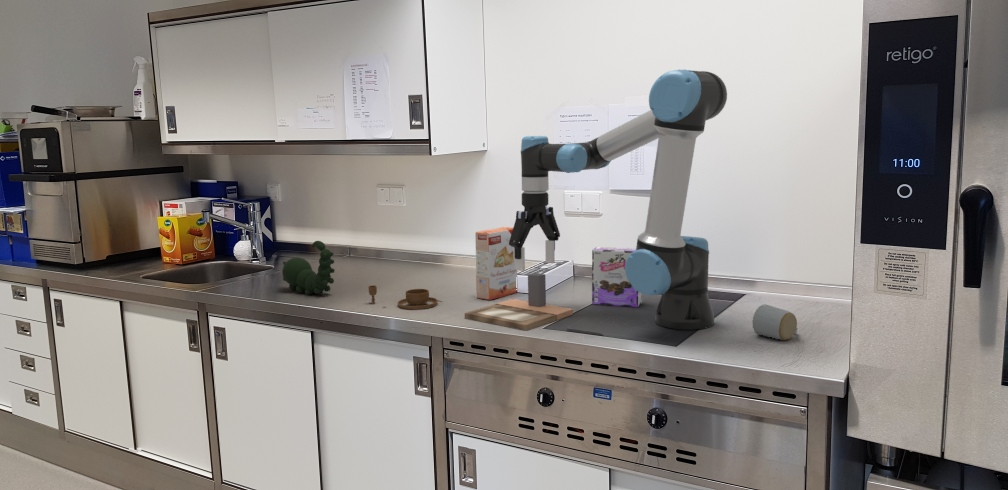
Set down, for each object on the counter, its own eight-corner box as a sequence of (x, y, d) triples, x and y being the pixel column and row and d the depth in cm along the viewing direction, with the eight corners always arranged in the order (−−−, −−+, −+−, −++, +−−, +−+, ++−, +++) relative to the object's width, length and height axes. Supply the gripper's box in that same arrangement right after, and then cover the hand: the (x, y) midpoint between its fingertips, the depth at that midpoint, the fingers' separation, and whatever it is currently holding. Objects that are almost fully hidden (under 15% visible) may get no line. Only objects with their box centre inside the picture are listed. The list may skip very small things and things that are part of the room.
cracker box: (490, 301, 231) (488, 232, 227) (475, 298, 234) (473, 231, 231) (519, 292, 241) (517, 227, 238) (504, 290, 245) (502, 226, 242)
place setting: (406, 316, 218) (405, 296, 217) (365, 305, 231) (364, 286, 230) (452, 304, 230) (451, 285, 229) (410, 295, 244) (409, 277, 243)
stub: (573, 314, 212) (572, 277, 210) (557, 319, 207) (556, 282, 205) (512, 303, 226) (512, 269, 225) (496, 308, 221) (495, 273, 219)
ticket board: (556, 320, 206) (556, 314, 206) (526, 330, 197) (526, 324, 196) (495, 308, 221) (495, 303, 220) (464, 318, 211) (464, 312, 211)
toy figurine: (341, 298, 246) (295, 283, 262) (341, 241, 242) (294, 229, 258) (317, 304, 239) (271, 288, 255) (317, 245, 235) (270, 232, 251)
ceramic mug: (781, 344, 180) (782, 312, 178) (751, 337, 186) (752, 306, 185) (806, 336, 186) (807, 305, 185) (776, 329, 192) (777, 300, 191)
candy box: (591, 304, 223) (591, 249, 221) (596, 300, 229) (596, 246, 226) (638, 307, 218) (638, 251, 216) (642, 303, 224) (642, 247, 221)
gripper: (551, 187, 224) (551, 258, 228) (495, 194, 205) (496, 271, 209) (572, 188, 219) (572, 261, 223) (516, 196, 201) (517, 275, 204)
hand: (535, 266), depth 216 cm, fingers open, 13 cm apart
